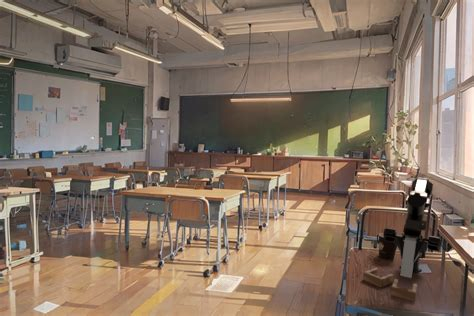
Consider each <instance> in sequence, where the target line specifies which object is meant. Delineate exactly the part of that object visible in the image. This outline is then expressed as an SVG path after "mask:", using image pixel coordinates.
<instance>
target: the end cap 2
mask: <svg viewBox="0 0 474 316" xmlns="http://www.w3.org/2000/svg"><path fill="white" fill-rule="evenodd" d="M398 284H399V279H396V278H394V279H393V283H392V286H391V293H390V295H391V296H393V297H397V298H400V299H405V300H408V301H412V302H416V295H417V290H418V284H417V283H413V284H412V289H408V288H404V287H400V286H399V285H398Z"/></svg>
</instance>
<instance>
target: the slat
mask: <svg viewBox="0 0 474 316" xmlns="http://www.w3.org/2000/svg"><path fill="white" fill-rule="evenodd" d="M416 240H417V239H416V238H411V237H406V238H405V242H404V250H403V258H402V259H401V265H400V266H401V268H400V277H401V276H402V277H405V278H410V279H412V275H413V273H412V271H413V263H414V262H413V260H414V255H415V247H416Z"/></svg>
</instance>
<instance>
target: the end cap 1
mask: <svg viewBox="0 0 474 316" xmlns="http://www.w3.org/2000/svg"><path fill="white" fill-rule="evenodd" d="M378 272H379V269H378V268H377V267H374V268H372V269H368V270H366V271H364V272H363V276H362V281H365V282H367V283H370V284H371V285H374V286H376V287H379V288H384V287H386V286H388V285H390V284H393V283H394V274H392V273H389V274H387V275H384V276H382V277H381V276H379V275H378V274H379V273H378Z"/></svg>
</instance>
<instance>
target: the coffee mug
mask: <svg viewBox="0 0 474 316" xmlns="http://www.w3.org/2000/svg"><path fill="white" fill-rule="evenodd" d="M376 242H377V244H378V257H379V258H380V259H383V260H386V261H387V260H388V261H393V260H395V255H396V252H397V248H398V246H397V245H395V241H394V242H388V241H385V240H384V232H382V233H378V234H377V235H376Z"/></svg>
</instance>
